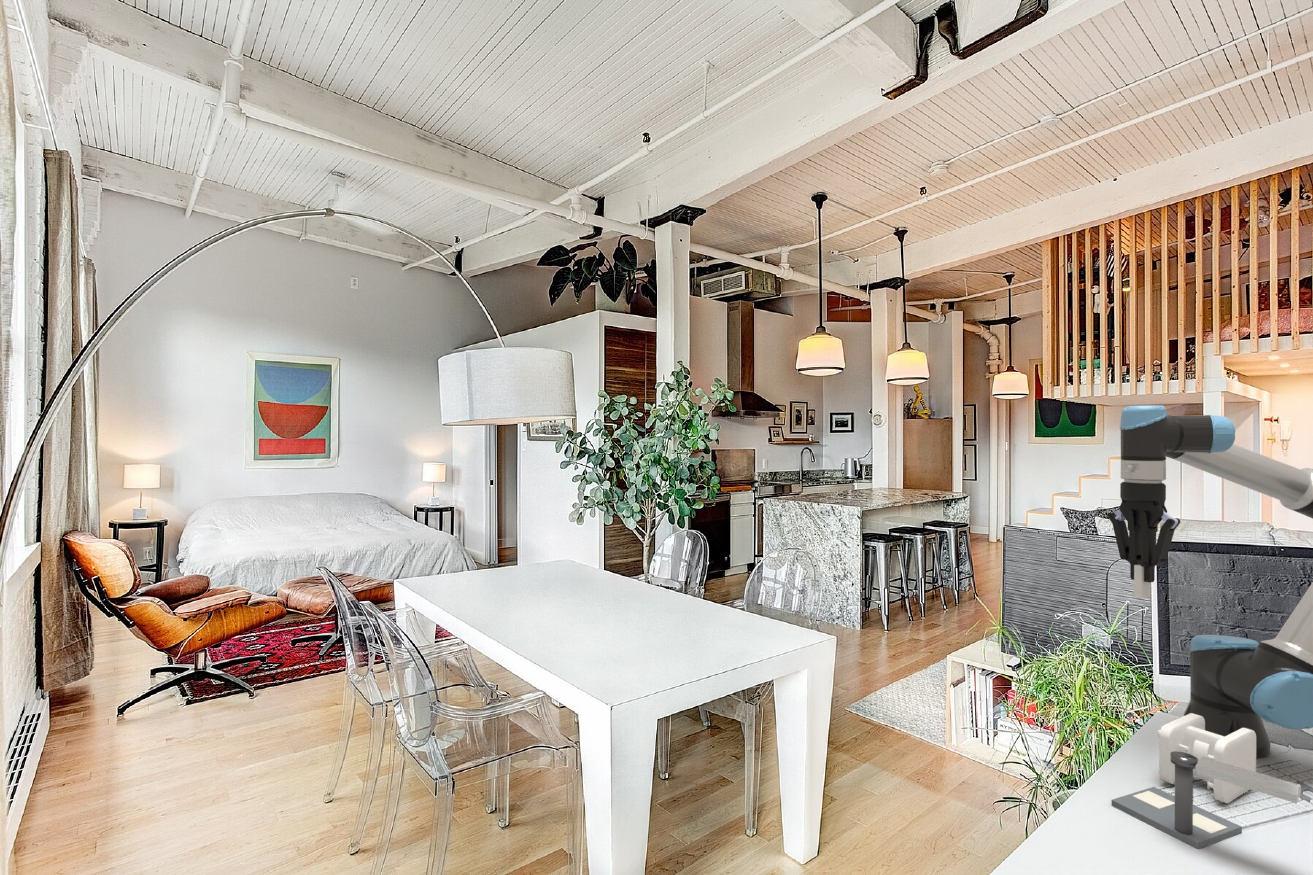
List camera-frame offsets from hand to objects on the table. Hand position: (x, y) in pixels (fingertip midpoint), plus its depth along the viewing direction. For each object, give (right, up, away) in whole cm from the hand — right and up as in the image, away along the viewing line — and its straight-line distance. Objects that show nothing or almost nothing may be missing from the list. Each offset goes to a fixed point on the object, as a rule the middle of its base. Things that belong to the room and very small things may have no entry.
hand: (1142, 596), depth 137 cm
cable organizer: (+7, -35, -8) cm, 36 cm away
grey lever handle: (-7, -22, -29) cm, 37 cm away
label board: (-8, -34, -19) cm, 40 cm away
